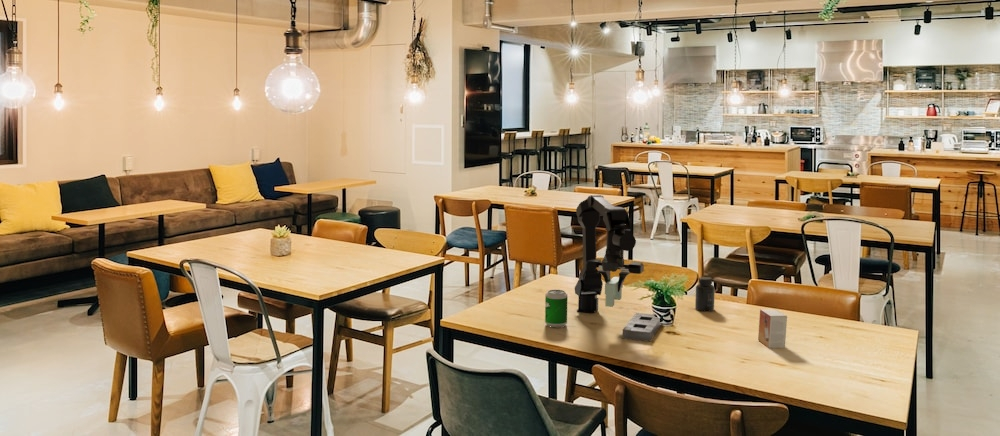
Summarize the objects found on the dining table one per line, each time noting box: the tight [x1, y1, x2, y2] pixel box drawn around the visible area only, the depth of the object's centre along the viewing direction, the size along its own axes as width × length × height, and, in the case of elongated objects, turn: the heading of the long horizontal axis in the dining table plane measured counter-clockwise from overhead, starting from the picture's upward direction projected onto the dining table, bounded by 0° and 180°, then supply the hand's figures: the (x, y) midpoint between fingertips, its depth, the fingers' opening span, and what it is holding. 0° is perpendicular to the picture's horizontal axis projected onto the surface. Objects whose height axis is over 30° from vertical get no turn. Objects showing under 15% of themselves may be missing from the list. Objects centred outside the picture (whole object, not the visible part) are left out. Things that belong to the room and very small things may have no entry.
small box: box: [757, 308, 788, 349], centre depth 247 cm, size 8×6×10 cm
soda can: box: [544, 289, 568, 328], centre depth 266 cm, size 8×8×12 cm
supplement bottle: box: [694, 276, 716, 312], centre depth 288 cm, size 7×7×12 cm
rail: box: [622, 312, 661, 342], centre depth 261 cm, size 9×22×3 cm, turn 159°
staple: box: [604, 276, 624, 308], centre depth 261 cm, size 3×12×8 cm, turn 158°
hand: (613, 291), depth 261 cm, fingers closed on staple, 3 cm apart
